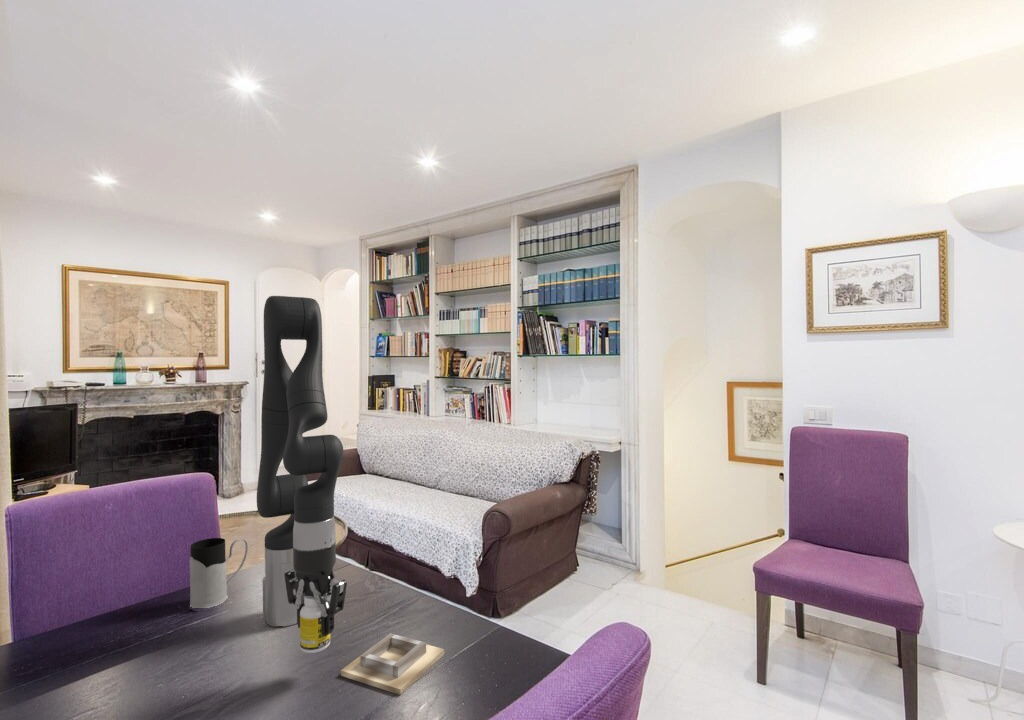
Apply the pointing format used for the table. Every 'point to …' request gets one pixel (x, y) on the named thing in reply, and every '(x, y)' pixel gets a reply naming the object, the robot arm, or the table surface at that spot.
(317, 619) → the supplement bottle
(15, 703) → the table surface
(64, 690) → the table surface
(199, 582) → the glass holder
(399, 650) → the socket stand
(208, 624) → the table surface
